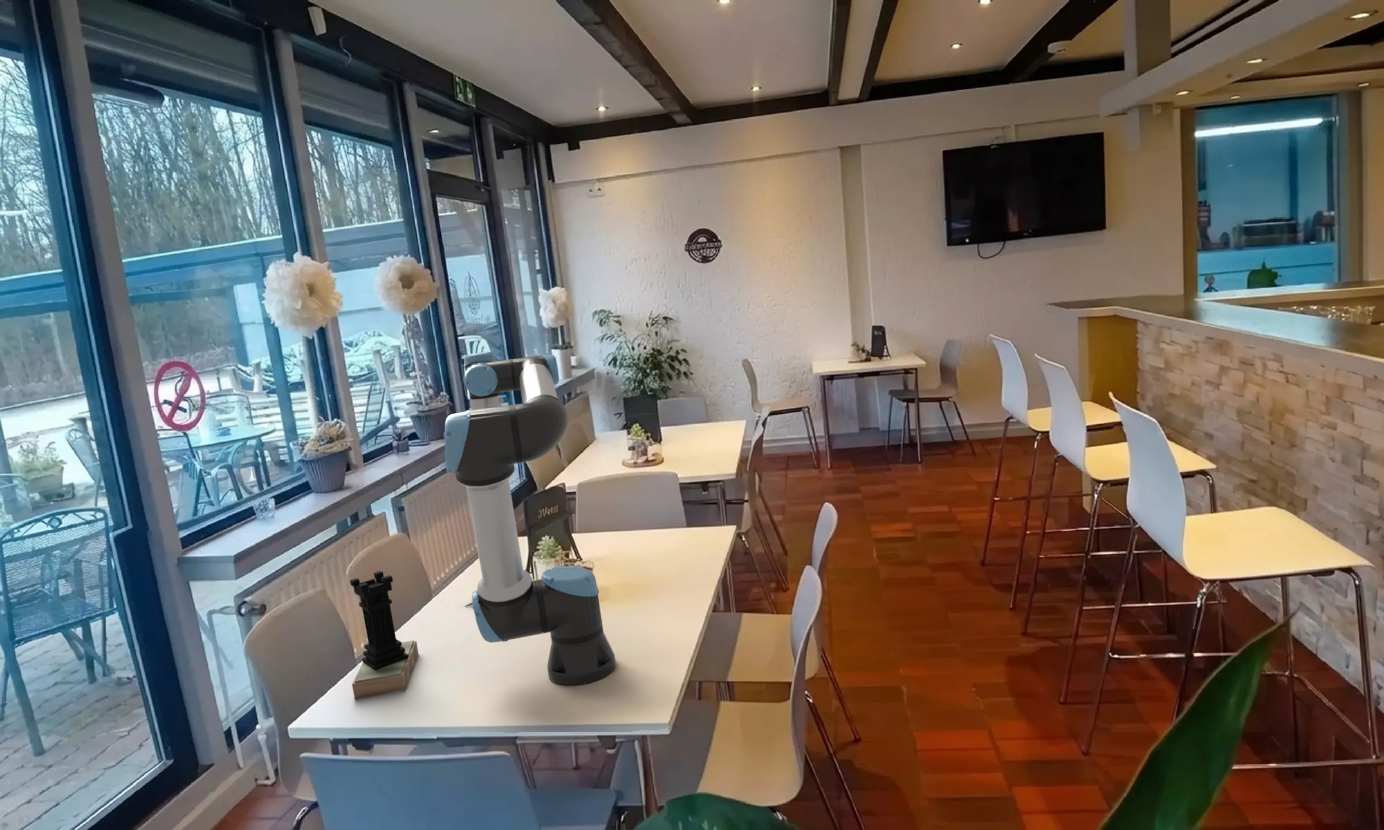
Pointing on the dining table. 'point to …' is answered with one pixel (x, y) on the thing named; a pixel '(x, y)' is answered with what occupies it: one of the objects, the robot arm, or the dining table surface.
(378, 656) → the chess piece
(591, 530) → the dining table surface
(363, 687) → the walnut stand
